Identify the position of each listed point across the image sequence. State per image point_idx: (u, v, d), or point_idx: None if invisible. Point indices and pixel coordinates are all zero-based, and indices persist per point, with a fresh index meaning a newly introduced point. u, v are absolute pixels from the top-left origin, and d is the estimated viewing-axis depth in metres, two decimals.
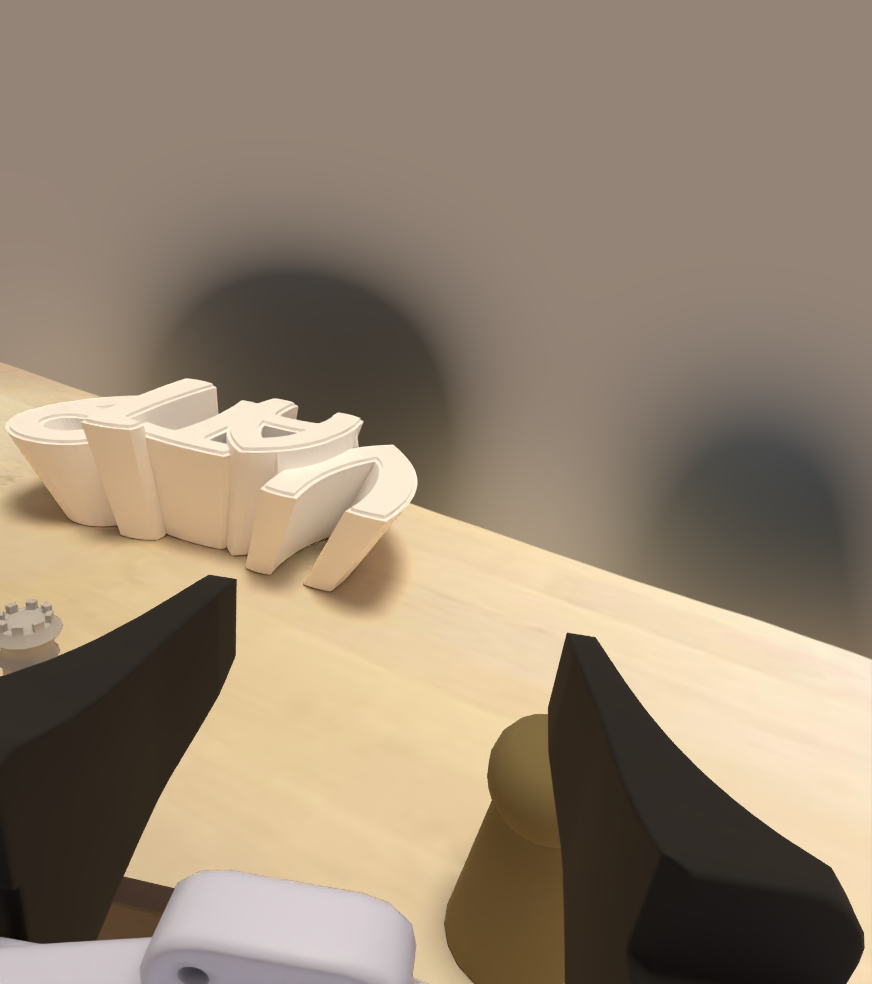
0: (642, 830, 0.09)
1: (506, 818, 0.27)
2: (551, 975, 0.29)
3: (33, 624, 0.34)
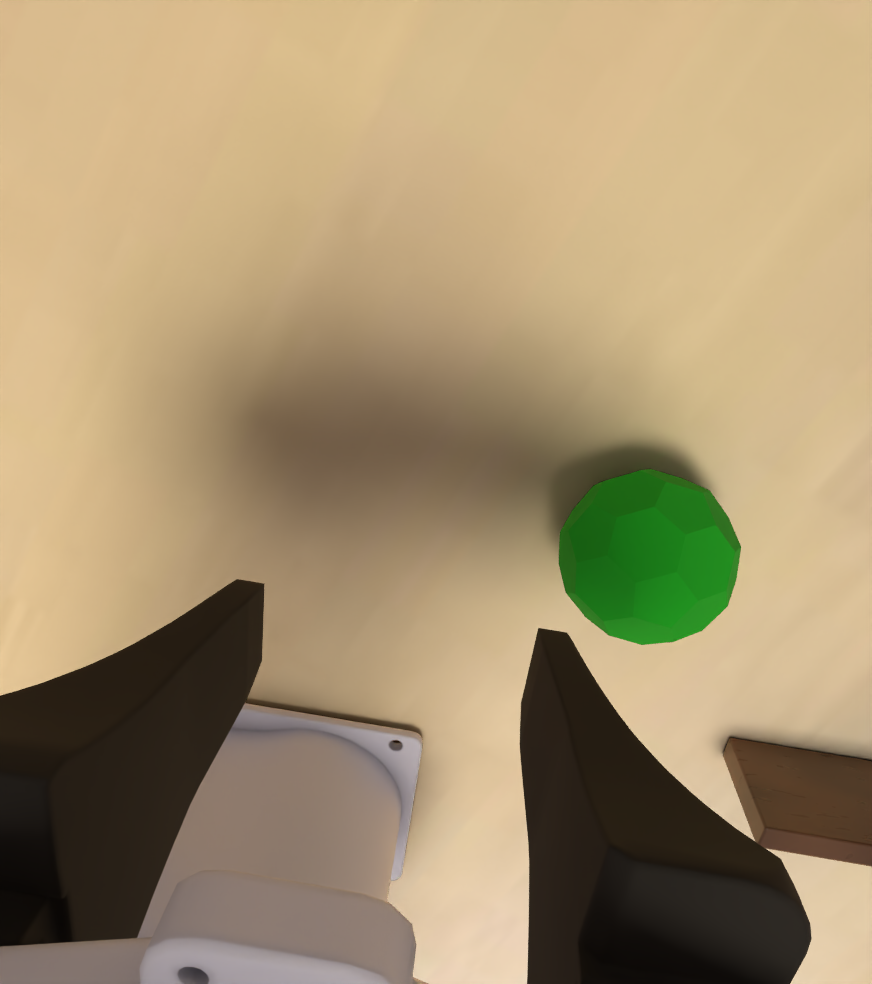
0: (594, 822, 0.09)
1: None
2: None
3: None
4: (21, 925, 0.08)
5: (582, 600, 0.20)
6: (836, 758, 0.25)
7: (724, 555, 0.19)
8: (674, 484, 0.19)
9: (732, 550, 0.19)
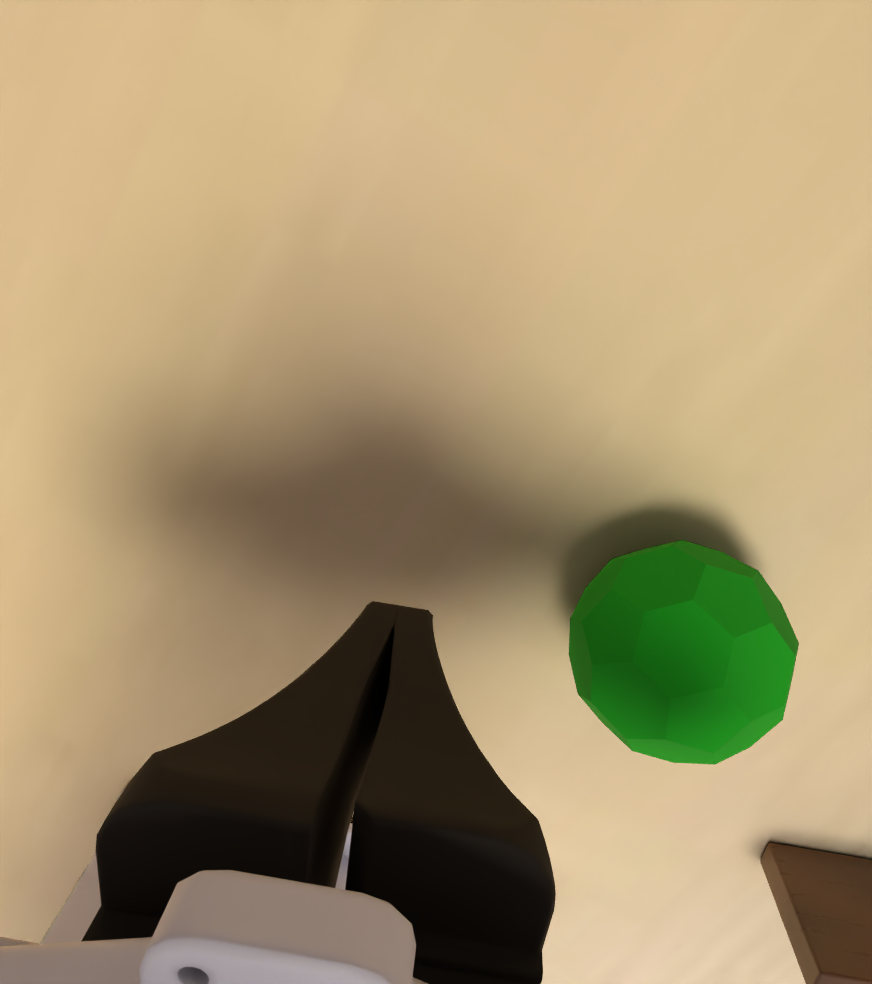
0: None
1: None
2: None
3: None
4: None
5: (599, 711, 0.16)
6: None
7: (782, 661, 0.15)
8: (716, 567, 0.15)
9: (791, 653, 0.15)
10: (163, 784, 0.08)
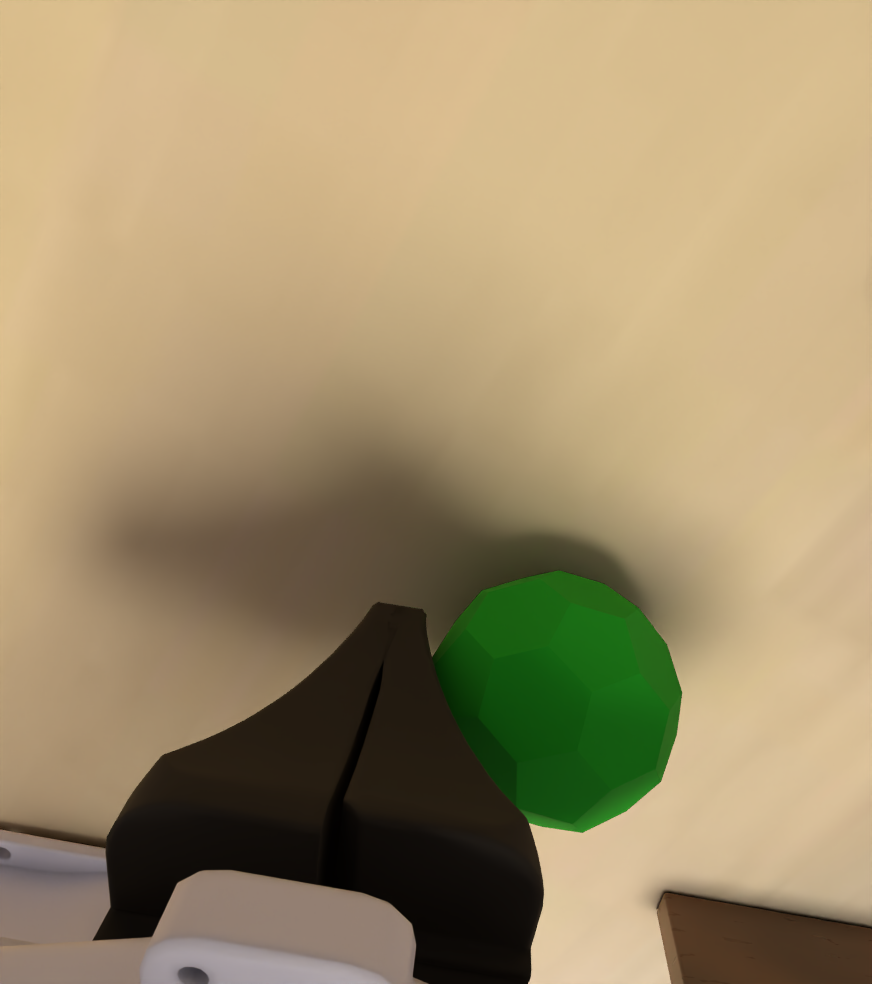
0: None
1: None
2: None
3: None
4: None
5: None
6: (803, 922, 0.19)
7: (653, 717, 0.12)
8: (583, 606, 0.13)
9: (665, 708, 0.13)
10: (172, 785, 0.08)
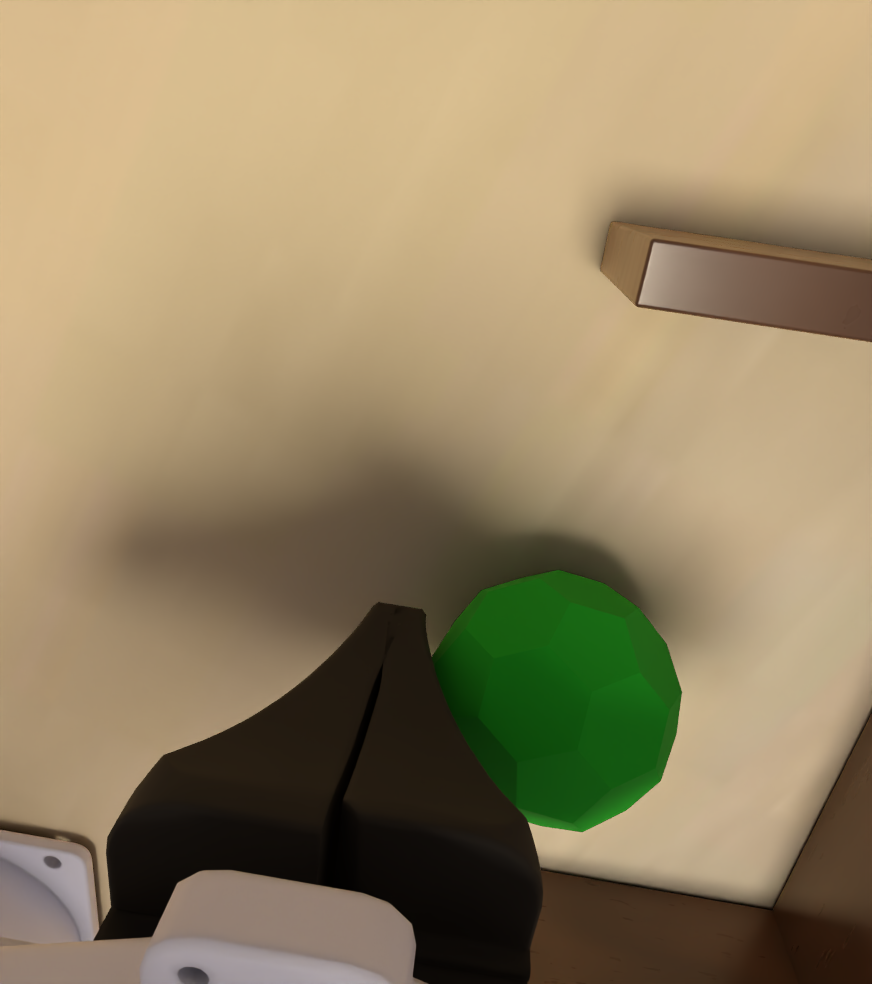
0: None
1: None
2: None
3: None
4: None
5: None
6: (605, 887, 0.20)
7: (652, 716, 0.12)
8: (583, 605, 0.13)
9: (665, 707, 0.13)
10: (174, 786, 0.08)
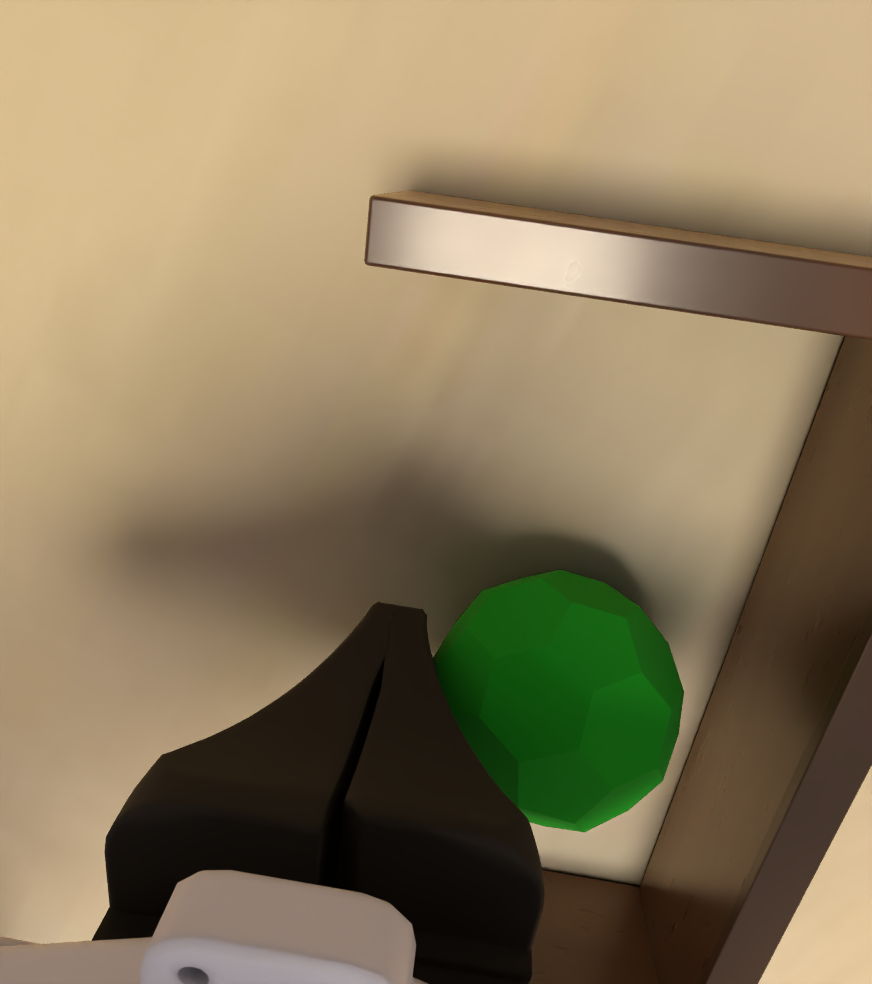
0: None
1: None
2: None
3: None
4: None
5: None
6: None
7: (654, 716, 0.12)
8: (584, 605, 0.13)
9: (667, 707, 0.13)
10: (171, 786, 0.08)
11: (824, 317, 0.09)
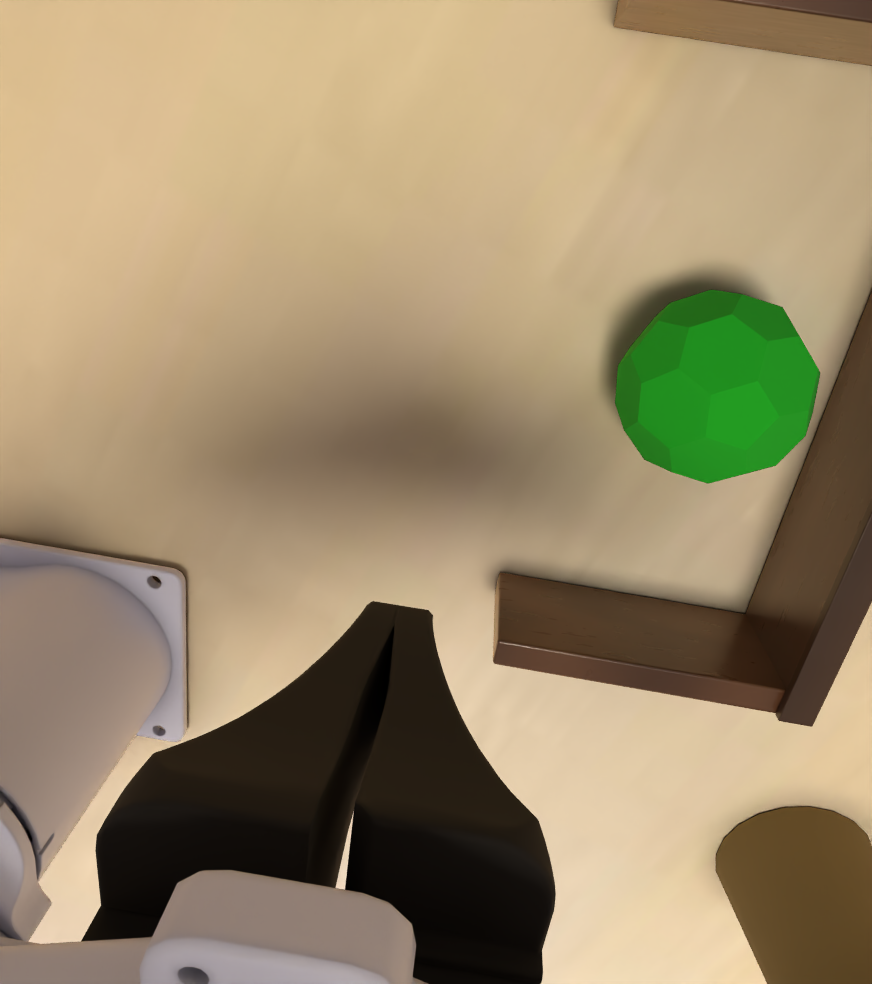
0: None
1: None
2: None
3: None
4: None
5: (646, 428, 0.18)
6: (609, 593, 0.24)
7: (807, 371, 0.17)
8: (751, 297, 0.17)
9: (815, 367, 0.17)
10: (163, 784, 0.08)
11: None
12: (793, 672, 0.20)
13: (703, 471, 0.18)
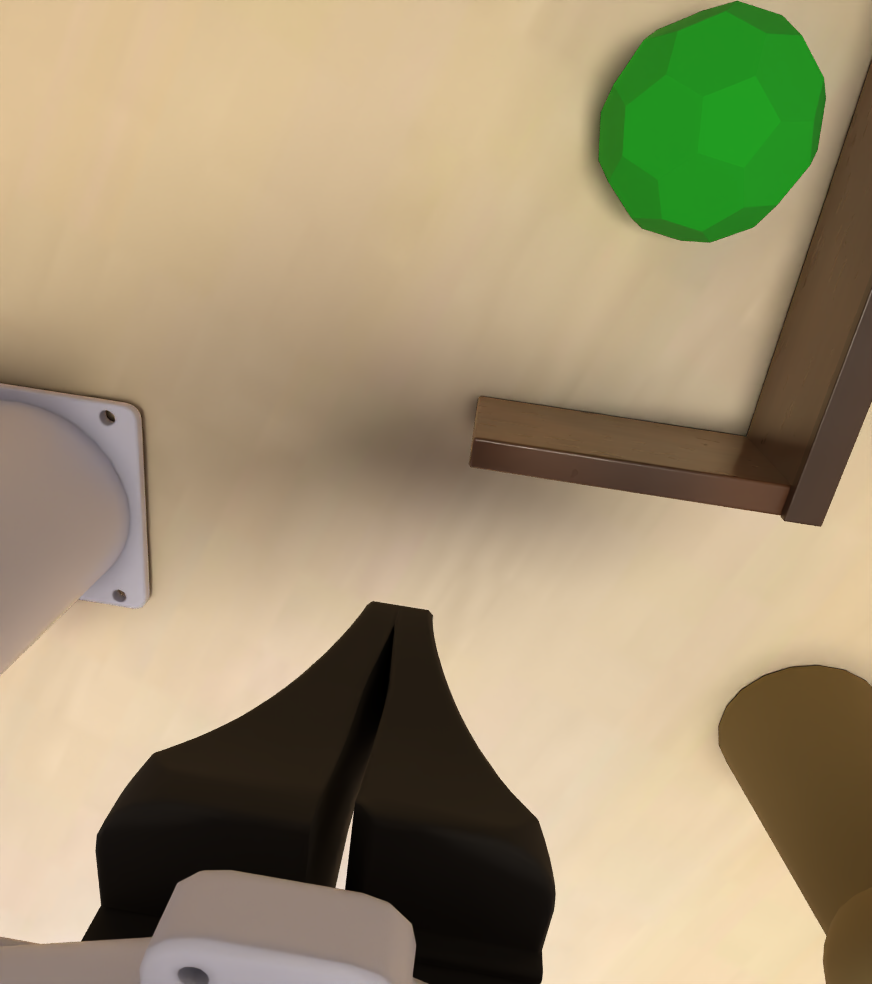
0: None
1: None
2: (734, 773, 0.26)
3: None
4: None
5: (631, 162, 0.16)
6: (599, 415, 0.22)
7: (811, 77, 0.15)
8: (747, 5, 0.15)
9: (820, 75, 0.15)
10: (163, 784, 0.08)
11: None
12: (799, 463, 0.18)
13: (696, 212, 0.16)
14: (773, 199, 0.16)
